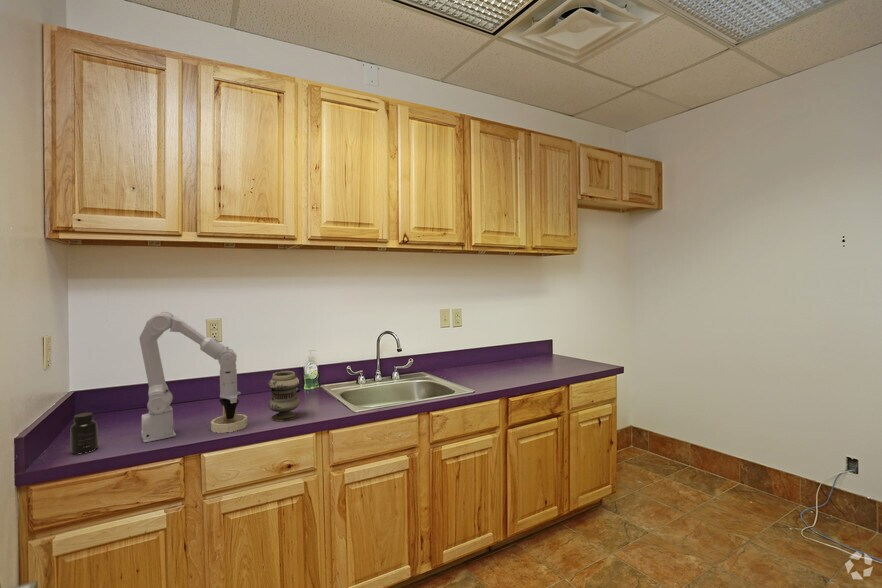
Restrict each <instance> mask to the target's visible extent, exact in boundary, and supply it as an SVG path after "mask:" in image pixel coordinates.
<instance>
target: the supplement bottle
mask: <svg viewBox="0 0 882 588" xmlns="http://www.w3.org/2000/svg"><path fill="white" fill-rule="evenodd" d="M69 431H70V433H69V435H70V451H71V454H72V453H74V454H73V455H76V454H78V453H85V452H89V451H92V450H94V449H96V448H97V449H99V436H98V435H99V433H98V423H97V421H95V420H94V413H93V412H83V413H79V414H75V415H74V416H73V424H72V425H71V426H70V428H69ZM97 449H96V450H97ZM94 451H95V450H94ZM92 452H93V451H92ZM89 453H90V452H89ZM85 454H86V453H85ZM78 455H79V454H78Z"/></svg>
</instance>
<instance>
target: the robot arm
mask: <svg viewBox="0 0 882 588" xmlns="http://www.w3.org/2000/svg"><path fill="white" fill-rule="evenodd" d="M169 329H170V330H169ZM168 330H169V332H170V333H171V332H172V333H180V334H182V335H184V336H185V337H186V338H189V339H190V340H192V341H193V342H195V343H196V344H198V345H199V348H200V351H201V352H203V353H205V354H206V355H208V356H209V357H211V358H212V359H214V360H215V361H216V360H217V361H218V364H219V365H220V366H219V367H220V368H219V369H220V370H219V391H220V393H219V398H220V399H219V400H218V401H219V402H220V404H221V406H222V408H223V406H224V408H225V412H226V417H227V419H233V418H234V414H235V409H236V410H237V407H238V404H239V403H240V400H239V399H238V395H241V391H238V371H237V370H238V369H237V363H236V362H237V357H238V356H237V353H236V352H235V351H234V350H233V348H232V349H231V348H230V347H229V346H228V345H227V346H226V345H224V344H222V343H221V342H220V341H219V339H218V338H217V337H215V338H214V337H212V336H211V337H206V336H205V335H203V334H202V333H201V332H200V331H197V330H196V329H195V328H194V327H192V326H191V325H189V324H188V323H187V322H185V320H183V319H181V318H179V317H178V316H174V314H172V313H171V312H169V311H163V312H159V313H157V314H156V313H155V314H154V315H153V316H152V317H150V318H149V319H148V320H147V321H146V323H145V326H144V328H143V329H142V331H141V334H140V336H139V344H140V350H141V354H142V358H143V363H144V369H145V374H146V378H147V384H148V391H147V392H148V402H147V404H146V407H147V411H148V413H143V414H142V415H141V418H140V419H141V431H140V435H141V439H142V441H143V443H150V442H154V441H158V440H165V439H167V438H173V437H177V433H176V432H175V430H174V411H173V409H174V408H173V407H172V406H171V403H172V402H173V399H174V395H173V393H172V392H171V391H170V390H169V387H168V384H167V382H166V379H165V374H164V370H163V369H164V368H163V364H162V359H161V353H160V349H159V344H158V339H159V338H160V337H162V335H163V333H164V332H166V331H168Z"/></svg>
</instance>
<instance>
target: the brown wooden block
mask: <svg viewBox="0 0 882 588" xmlns="http://www.w3.org/2000/svg"><path fill="white" fill-rule="evenodd" d="M236 414H237V408H236V409H235V414H234V418H233V419H227V417H226V412H225V408H224V406H223V407H222V416H223V424H226V422H231V421H236Z"/></svg>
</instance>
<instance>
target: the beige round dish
mask: <svg viewBox="0 0 882 588" xmlns="http://www.w3.org/2000/svg"><path fill="white" fill-rule="evenodd" d="M248 425H249V422H248V416H247V415H246V414H240V413H236V421H231V422H226V424H223V415H221V416H218V417H216V418H213V419H212V420H210V430H211V431H212V433H216V432H217V434H222V433H223V434H227V433H226V432H229V433H232V432H233V431H234V432H237V430H238V431H241V430H243V429H245V428H246V427H248ZM242 428H243V429H242ZM240 429H241V430H240ZM234 432H233V433H234Z"/></svg>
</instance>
